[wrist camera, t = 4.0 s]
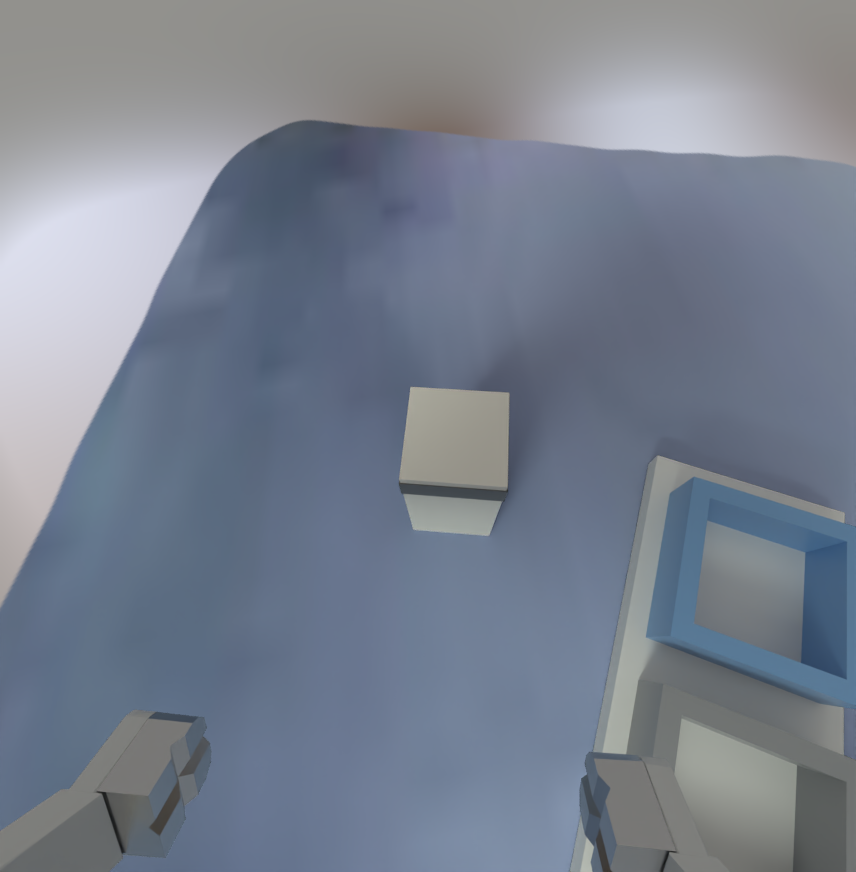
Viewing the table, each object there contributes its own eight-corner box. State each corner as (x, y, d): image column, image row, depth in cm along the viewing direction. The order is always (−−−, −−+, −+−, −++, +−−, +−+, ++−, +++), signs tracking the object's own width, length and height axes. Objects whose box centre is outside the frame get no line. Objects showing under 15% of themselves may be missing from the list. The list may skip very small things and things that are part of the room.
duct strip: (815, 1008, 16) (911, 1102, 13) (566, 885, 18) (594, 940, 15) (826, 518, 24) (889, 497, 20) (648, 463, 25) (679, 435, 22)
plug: (489, 537, 24) (508, 488, 17) (412, 530, 24) (397, 480, 17) (492, 464, 26) (510, 391, 18) (420, 459, 26) (409, 385, 19)
